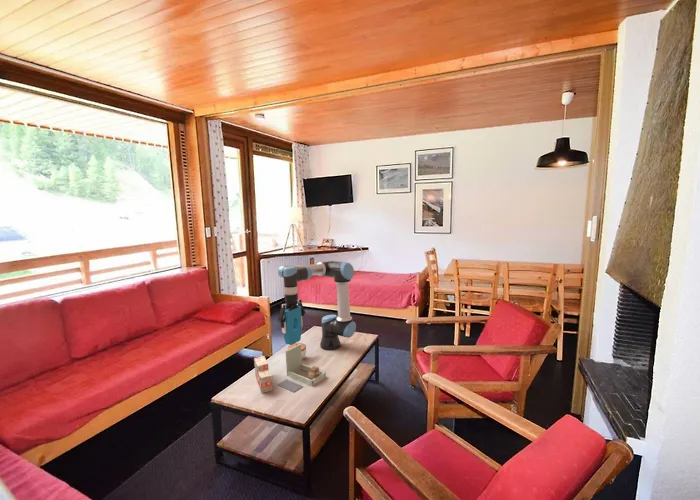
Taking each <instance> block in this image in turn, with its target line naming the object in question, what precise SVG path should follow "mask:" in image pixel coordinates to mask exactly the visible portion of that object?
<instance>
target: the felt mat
mask: <svg viewBox="0 0 700 500" xmlns="http://www.w3.org/2000/svg"><path fill="white" fill-rule="evenodd" d="M277 385H278V386H279V387H281V388H284V389H286V390H288V391H289V392H292V393H295V392H298V391H299V390H300V389H302V388H303V387H304V386H303V385H301V384H298V383H297V382H294V381H291V380H289V379H284V380H282V381H281V382H279V383H277Z"/></svg>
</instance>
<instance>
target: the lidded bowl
mask: <svg viewBox="0 0 700 500" xmlns="http://www.w3.org/2000/svg"><path fill="white" fill-rule="evenodd" d="M299 344H301V357H302V360H303V359H304V358H305V357H306V355H307V344H305V343H303V342H296V343H295V344H293V345H289V344H288V346H287V350H289V349H291V348H293V347H295V346H297V345H299Z"/></svg>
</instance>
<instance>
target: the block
mask: <svg viewBox="0 0 700 500" xmlns="http://www.w3.org/2000/svg"><path fill="white" fill-rule="evenodd" d="M297 306H298V305H297ZM284 316H286V319H285V322H286V333H282V334H283V339H284V342H285V344H286V345H288V346H289V345H293V344H295V343H299V342H300V341H301V338H302V332H303V331H302V330H303V327H302V324H303V320H301V306H298V308H294V309H291V310H290V311H286V310H285V312H284Z"/></svg>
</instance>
